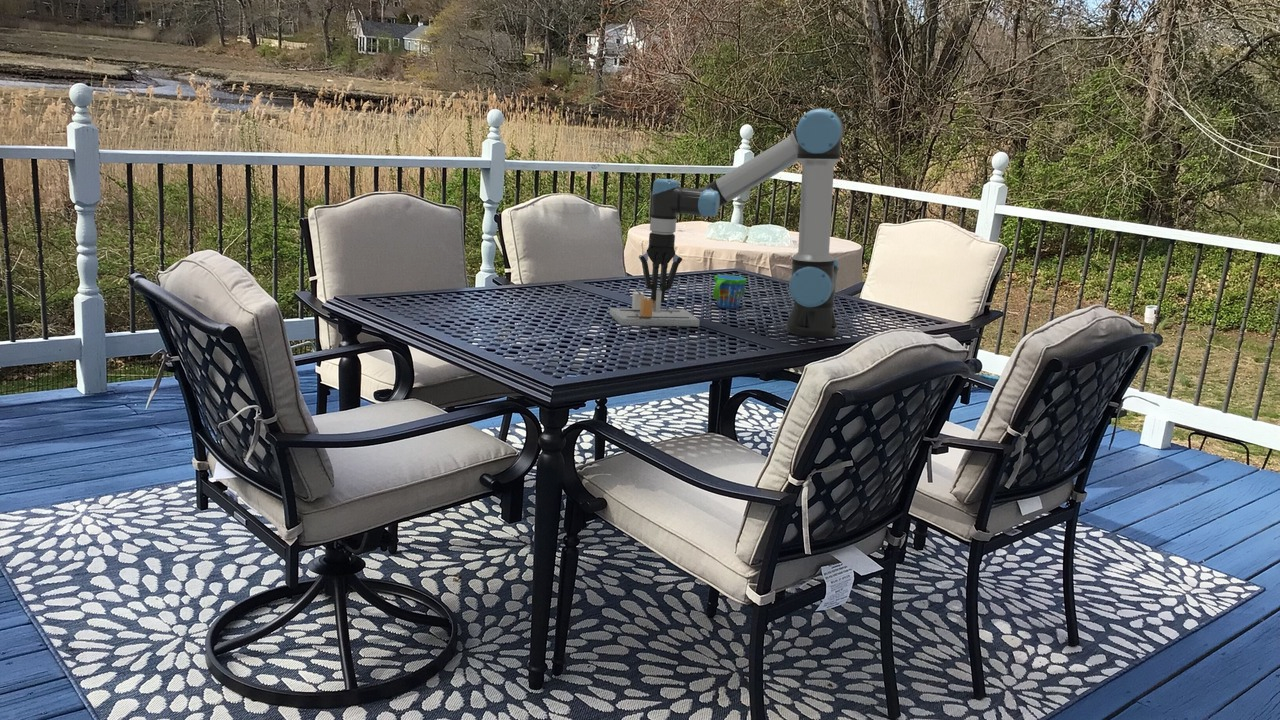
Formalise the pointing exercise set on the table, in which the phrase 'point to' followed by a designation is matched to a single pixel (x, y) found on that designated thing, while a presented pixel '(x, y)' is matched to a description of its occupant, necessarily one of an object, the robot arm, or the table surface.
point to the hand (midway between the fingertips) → (656, 311)
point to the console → (654, 317)
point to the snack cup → (729, 290)
